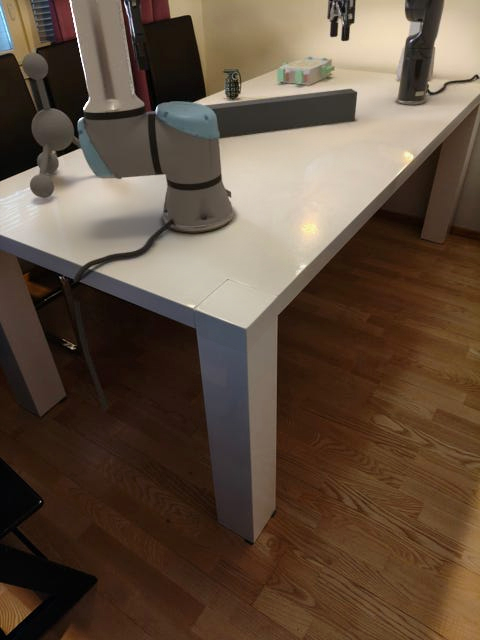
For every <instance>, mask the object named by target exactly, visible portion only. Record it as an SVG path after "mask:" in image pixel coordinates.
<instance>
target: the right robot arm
mask: <svg viewBox="0 0 480 640" xmlns="http://www.w3.org/2000/svg"><path fill="white" fill-rule="evenodd" d="M356 1H357V0H327V4H328V5H327V17H326V18H327V20H329V23H330V24H329V26H330V27H329V37H330V38H337V37H338V35H339V20H340V21H341V34H340V35H341V36H340V41H341V42H348V41H350V33H351V27H352V25H353V24H354V23H355V22H356V21H355V19H356V3H357V2H356ZM444 7H445V0H405V2H404V15H405V19H406V20H407V21H408V22H409V23H410V22H417V23H422V28H421V30H420V31H419V32H418V33H416V34H414V35H410V36H409V35H408V36H407V37H406V38H405V44H404V46H405V50H404V57H403V64H402V71H401V79H400V80H399V85H398V94H397V98H396V102H397V103H399V104H401V105H408V106H414V105H421V104H424V103H425V102H426V95H427V94H428V95H430V96H434V95H438V94H440V93H441V92H442V91H444V90H446V89H447V88H446V87H447V85H451V84H463V83H470V82H473V81H474V80H475V79H477V80H478V79H480V76H479V74H474V75H473V76H472V77H471V78H467V79H459V80H458V79H457V80H449V81H446V82H444V83H443V86H442V87H441V88H439V89H438V90H436V91H431V90H430V89H429V88H430V83H429V80H428V79H429V73H430V67H431V61H432V55H433V50H434V47H435V44H436V40H437V38H438V34H439V29H440V25H441V20H442V16H443V11H444Z"/></svg>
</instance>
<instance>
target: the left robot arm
mask: <svg viewBox="0 0 480 640" xmlns="http://www.w3.org/2000/svg"><path fill="white" fill-rule="evenodd" d="M69 3H70V8H71V13H72V18H73V23H74V28H75V33H76V38H77V43H78V48H79V53H80V58H81V63H82V68H83V73H84V78H85V84H86V89H87V92H88V93H87V94H88V101H87V102H86V103H85V105H84V106H83V114H84V116H83V117H81V118H79V120H78V121H77V132H78V139H79V141H80V145H81V148H82V149H81V148H80V149H81V151H82V154H83V157H84V159H85V161H86V163H87V166H88V168H89V169H90V170H91V171H92V173H93V174H94V175H95V176H96V177H97V178H101V179H117V180H122V179H125V178H136V177H149V176H150V177H151V176H162V175H163V176H164V175H165V180H166V190H165V191H166V192H165V196H164V203H163V207H162V218H163V222H164V225H162V226H161V227H160V228H159V229H157V230H156V231H155V232H154V233H153V234H152V235H150V237H149V238H148V239H147V240H146V243H145V244H144V245H143V246H142V247H140V248H138V249H136V250H131V251H126V252H118V253H112V254H108V255H106V256H105V255H104V256H102V257H99V258H95V259H92V260H90V261H88V262H87V263H85V264H83V265H82V266H81V267H80V268H79V269H78V270H77V272H76V274H75V276H74V278H73V280H72V281H73V283H78V282H79V281H80V280H81V279H82V277H83V275H84V274H85V272H86V271H87V270H88V269H91V268H92V267H94V266H97V265H100V264H104V263H107V262H109V261H112V260H117V259H125V258H132V257H137V256H139V255H142V254H143V253H145V252H146V251H148V250H149V248H150V247H151V245H152V244H153V242H154V241H155V240H156V239H157V238H158V237H159V236H160V235H162V234H163V233H164V232H165V231H166V230H167V229H171V230H173V231H177V232H180V233H190V234H191V233H192V234H193V233H194V234H195V233H196V234H197V233H205V232H206V233H207V232H210V231H215V230H216V229H220V228H222V227H224V226H226V225H227V224H228V223H230V221H231V220H232V218H233V216H234V212H233V211H234V210H233V205H232V201H231V200H230V198H231V199H232V191H230V190H229V189H227V188H226V187H225V184H224V182H223V175H222V174H223V173H222V164H221V153H220V152H221V150H220V138H219V136H220V133H219V131H218V124H217V117H216V114H215V113H214V111H213V110H211V109H210V108H209V107H206V106H204V105H205V104H201V103H197V102H192V101H180V100H179V101H169V102H162V103H159V104H158V105H156V109H155V110H154V111H155V112H156V113H152V114H146V112H147V111H146V105H145V102H144V101H143V100H142V99H140V98H139V97H138V95H136V92H135V91H136V90H135V85H134V78H133V72H132V66H131V60H130V53H129V45H128V41H127V40H128V39H127V34H126V26H125V19H124V13H123V6H122V1H121V0H69ZM123 3H124V8H125V10H126V16H127V17H128V24H129V31H130V35H131V43H132V48H133V49H132V50H133V57H134V62H135V63H137V67H138V71H149V70H150V66H149V60H148V52H147V51H148V50H147V46H146V36H145V31H144V26H143V20H142V16H143V15H142V9H141V8H142V4H141V0H123ZM73 304H74V311H75V313H74V314H75V318H76V326H77V331H78V335H79V340H80V343H81V348H82V351H83V355H84V358H85V360H86V363H87V366H88V369H89V371H90V372H89V373H90V374H91V377H92V380H93V383H94V385H95V389H96V391H97V394H98V397H99V400H100V403H101V406H102V410H103V411H107V410H108V404H107V402H106V398H105V395H104V391H103V389H102V386H101V385H102V384H101V383H100V380H99V377H98V374H97V372H96V369H95V366H94V362H93V360H92V357H91V354H90V351H89V347H88V343H87V340H86V336H85V330H84V324H83V320H82V319H83V318H82V311H81V303H80V301H78V300H75V299H74V300H73Z"/></svg>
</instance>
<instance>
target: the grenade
mask: <svg viewBox="0 0 480 640" xmlns="http://www.w3.org/2000/svg"><path fill="white" fill-rule="evenodd" d="M221 72H222V73H223V74H226V76H227V77H226V78H225V80H224V81H225V82H224V94H225V97H226V98H227V99H229V100H237V98H238V97H239V96H240V95H241V92H242V74H241V73H240V71H239V69H237V68H224V69H222V71H221ZM236 76H237V77H236Z"/></svg>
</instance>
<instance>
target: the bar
mask: <svg viewBox="0 0 480 640" xmlns="http://www.w3.org/2000/svg"><path fill="white" fill-rule="evenodd" d="M357 101H358V91H356V90H354V89H352V88H343V89H337V90H328V91H327V90H326V91H319V92H310V93H309V92H308V93H299V94H291V95H283V96H282V95H281V96H275V97H265V98H257V99H248V100H240V101H239V100H238V101H230V102H222V103H221V102H220V103H212V104H203V105H204V106H206V107H209V108H210V109H211V110H213V111H214V113H215V114H216V117H217V124H218V131H219V133H220V136H219V139H220V138H221V139H222V138H228V137H236V136H244V135H245V136H246V135H252V134H253V135H254V134H260V133H268V132H276V131H277V132H278V131H284V130H293V129H301V128H307V127H317V126H323V125H332V124H339V123H348V122H349V123H350V122H355V121H356V113H357V112H356V110H357ZM155 111H156V110H154V111H153V110H151V111H146V114H152V113H156V112H155Z"/></svg>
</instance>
